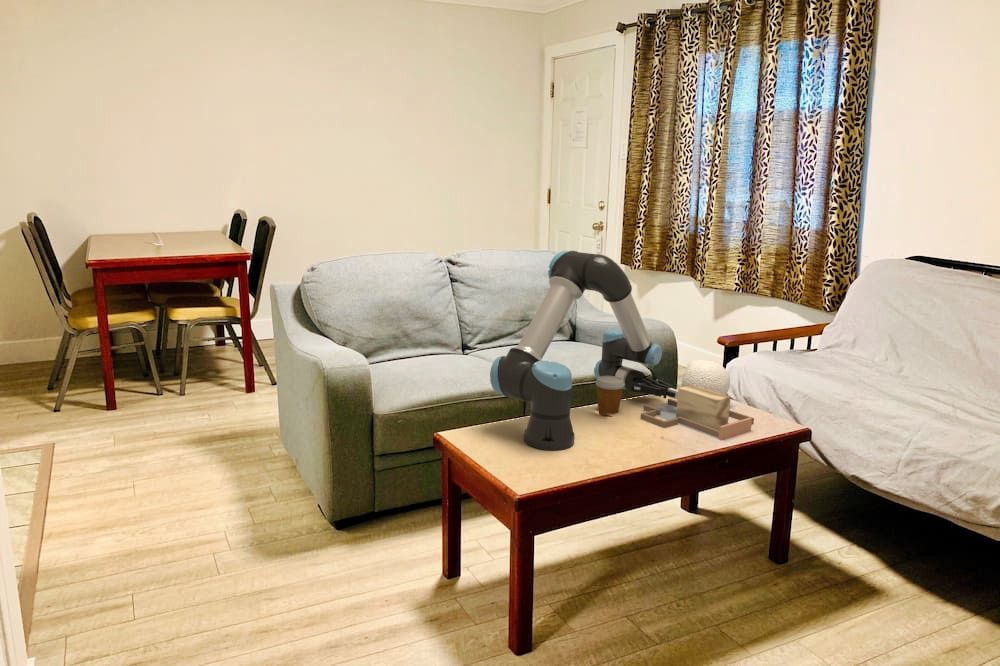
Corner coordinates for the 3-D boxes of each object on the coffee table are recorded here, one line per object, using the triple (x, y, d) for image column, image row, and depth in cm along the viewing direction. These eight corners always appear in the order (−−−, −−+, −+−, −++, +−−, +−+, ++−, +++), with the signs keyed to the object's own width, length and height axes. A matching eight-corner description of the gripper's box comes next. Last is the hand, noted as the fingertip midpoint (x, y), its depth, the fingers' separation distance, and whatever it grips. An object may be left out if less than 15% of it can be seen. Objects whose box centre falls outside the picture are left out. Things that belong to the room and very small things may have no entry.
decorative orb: (696, 415, 256) (701, 369, 252) (662, 399, 271) (666, 356, 268) (741, 407, 265) (745, 363, 261) (705, 393, 280) (709, 351, 277)
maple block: (713, 431, 238) (716, 400, 236) (675, 417, 249) (678, 388, 247) (727, 426, 242) (730, 396, 240) (689, 413, 254) (692, 384, 251)
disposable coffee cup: (624, 419, 250) (626, 384, 247) (595, 418, 250) (597, 383, 247) (620, 409, 259) (622, 375, 256) (592, 408, 259) (594, 374, 256)
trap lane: (706, 448, 227) (708, 431, 226) (627, 417, 251) (628, 402, 250) (762, 430, 244) (764, 414, 242) (683, 403, 268) (684, 388, 267)
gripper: (642, 386, 273) (696, 404, 255) (617, 392, 265) (670, 411, 247) (644, 366, 272) (698, 383, 254) (618, 372, 264) (672, 389, 246)
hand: (684, 397), depth 251 cm, fingers closed
